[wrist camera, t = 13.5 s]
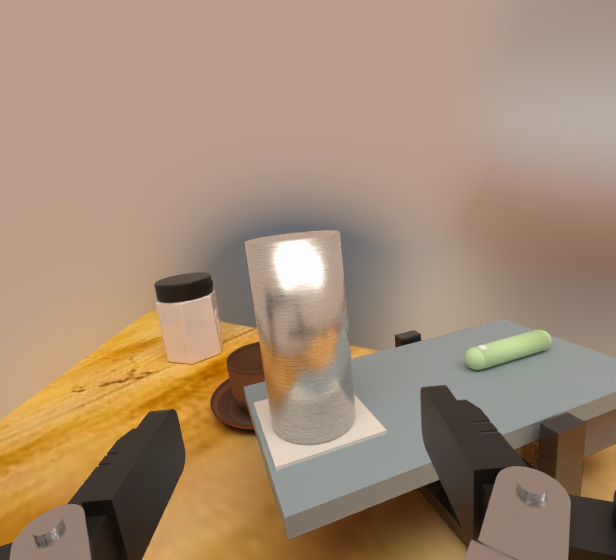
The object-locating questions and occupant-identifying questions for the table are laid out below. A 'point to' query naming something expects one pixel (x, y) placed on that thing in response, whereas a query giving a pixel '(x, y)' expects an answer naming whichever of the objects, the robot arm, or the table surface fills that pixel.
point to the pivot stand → (551, 459)
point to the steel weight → (303, 334)
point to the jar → (189, 317)
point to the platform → (407, 415)
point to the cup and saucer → (238, 386)
